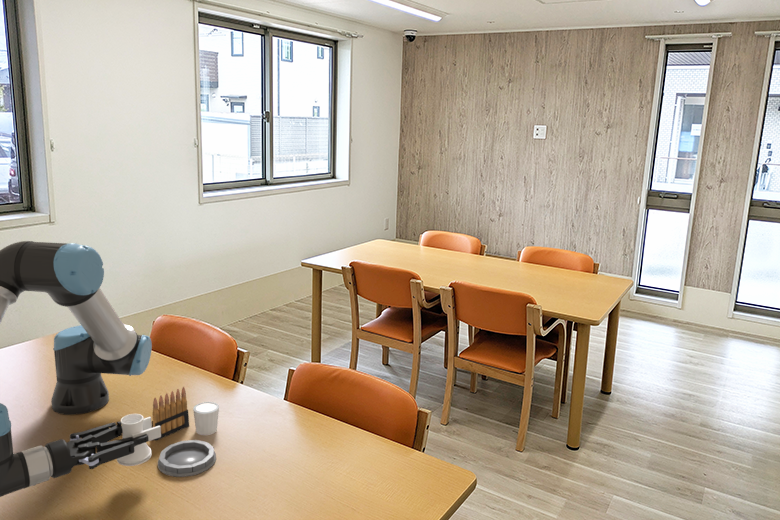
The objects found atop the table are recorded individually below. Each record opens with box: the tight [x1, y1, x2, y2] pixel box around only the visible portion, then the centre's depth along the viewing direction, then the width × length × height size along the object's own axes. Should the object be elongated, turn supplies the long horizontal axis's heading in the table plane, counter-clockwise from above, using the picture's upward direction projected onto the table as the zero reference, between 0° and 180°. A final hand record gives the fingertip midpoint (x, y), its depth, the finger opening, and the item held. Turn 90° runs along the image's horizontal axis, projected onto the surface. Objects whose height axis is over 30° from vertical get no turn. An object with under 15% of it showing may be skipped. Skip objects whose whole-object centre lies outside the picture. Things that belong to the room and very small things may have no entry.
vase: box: [116, 413, 152, 467], centre depth 140 cm, size 8×8×10 cm
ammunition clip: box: [151, 386, 190, 441], centre depth 164 cm, size 11×2×12 cm, turn 145°
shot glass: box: [192, 401, 220, 436], centre depth 166 cm, size 7×7×7 cm
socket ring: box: [157, 439, 217, 478], centre depth 152 cm, size 14×14×2 cm
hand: (155, 426), depth 143 cm, fingers closed on vase, 5 cm apart
